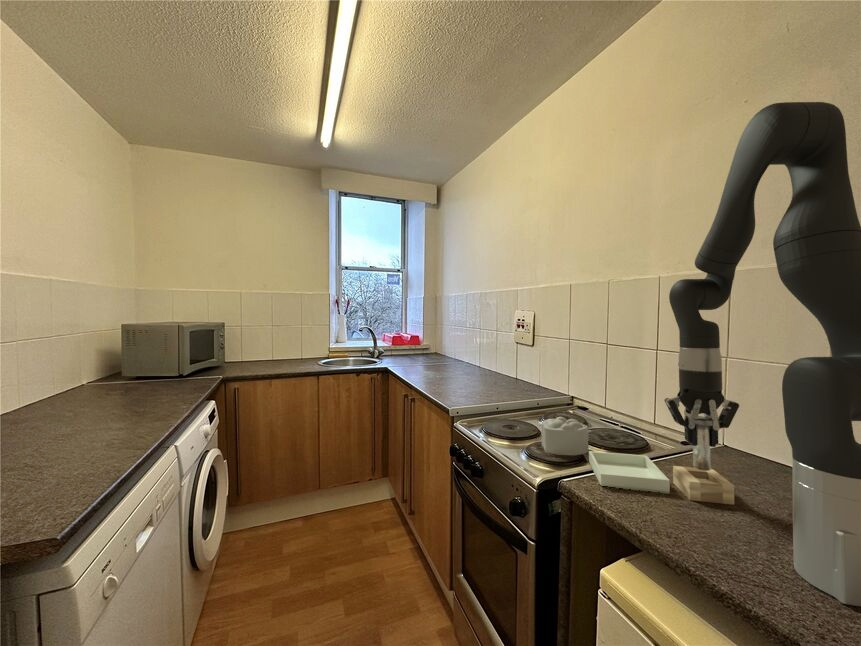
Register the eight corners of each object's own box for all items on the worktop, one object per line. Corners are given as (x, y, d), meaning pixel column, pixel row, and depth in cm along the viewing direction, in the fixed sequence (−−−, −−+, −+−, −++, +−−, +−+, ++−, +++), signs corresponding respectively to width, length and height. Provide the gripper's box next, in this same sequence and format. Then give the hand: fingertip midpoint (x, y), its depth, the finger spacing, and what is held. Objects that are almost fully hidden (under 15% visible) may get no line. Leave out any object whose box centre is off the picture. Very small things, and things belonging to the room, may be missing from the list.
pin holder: (734, 504, 70) (734, 485, 70) (689, 500, 72) (689, 481, 72) (712, 486, 77) (712, 469, 77) (673, 482, 79) (672, 465, 79)
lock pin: (719, 472, 71) (718, 421, 72) (695, 470, 73) (694, 420, 73) (708, 464, 76) (706, 416, 76) (685, 462, 77) (684, 415, 77)
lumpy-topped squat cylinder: (540, 441, 108) (539, 415, 108) (582, 443, 106) (581, 415, 106) (546, 454, 97) (546, 425, 97) (593, 456, 95) (593, 426, 95)
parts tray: (669, 493, 74) (669, 480, 74) (601, 486, 78) (600, 473, 78) (646, 466, 88) (646, 455, 88) (588, 462, 91) (588, 451, 91)
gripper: (670, 369, 73) (672, 448, 72) (748, 370, 69) (751, 454, 69) (657, 365, 80) (658, 437, 80) (727, 366, 76) (728, 441, 76)
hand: (701, 444), depth 74 cm, fingers closed on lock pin, 3 cm apart
